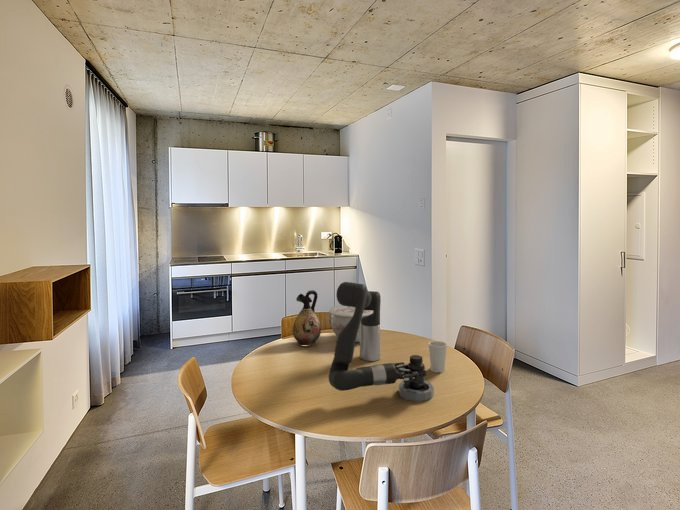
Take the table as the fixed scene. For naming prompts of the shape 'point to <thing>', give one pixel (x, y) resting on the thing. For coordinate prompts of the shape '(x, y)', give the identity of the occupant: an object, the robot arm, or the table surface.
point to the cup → (437, 356)
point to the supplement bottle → (416, 366)
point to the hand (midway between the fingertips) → (421, 369)
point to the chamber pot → (344, 318)
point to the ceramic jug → (307, 321)
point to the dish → (416, 392)
